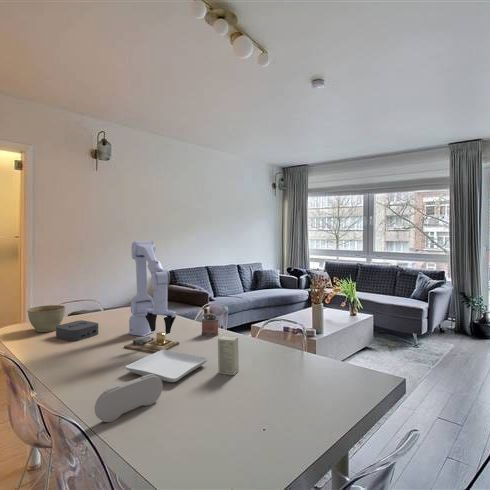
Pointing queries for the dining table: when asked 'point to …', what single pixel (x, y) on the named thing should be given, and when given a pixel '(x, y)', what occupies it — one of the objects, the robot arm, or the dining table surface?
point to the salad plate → (167, 365)
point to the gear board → (149, 344)
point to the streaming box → (77, 330)
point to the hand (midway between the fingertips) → (160, 332)
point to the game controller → (128, 397)
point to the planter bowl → (46, 317)
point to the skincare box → (228, 355)
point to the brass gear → (160, 339)
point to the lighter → (209, 325)
